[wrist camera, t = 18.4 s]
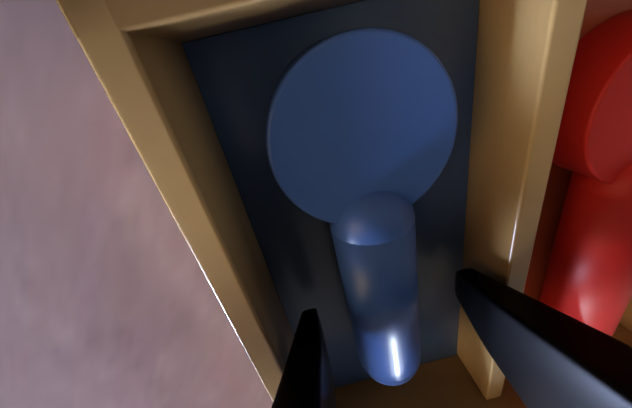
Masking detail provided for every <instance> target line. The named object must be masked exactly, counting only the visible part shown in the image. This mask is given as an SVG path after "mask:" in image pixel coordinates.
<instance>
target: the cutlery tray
mask: <svg viewBox="0 0 632 408" xmlns="http://www.w3.org/2000/svg"><path fill="white" fill-rule="evenodd" d="M56 2H57V4H58V6H59V7H60V9H61V11H62V13H63V15H64V17H65V19H66V20H67V22H68V24H69V26H70V28H71V30H72V32H73V33H74V35H75V37H76V38H77V40H78V42H79V44H80V46H81V48H82V49H83V51H84V53H85V55H86V57H87V59H88V60H89V62H90V64H91V66H92V68H93V70H94V72H95V73H96V75H97V77H98V79H99V81H100V83H101V85H102V86H103V88H104V90H105V92H106V94H107V96H108V98H109V99H110V101H111V103H112V105H113V107H114V109H115V110H116V112H117V114H118V116H119V118H120V120H121V122H122V123H123V125H124V127H125V129H126V131H127V133H128V135H129V136H130V138H131V140H132V142H133V144H134V146H135V147H136V149H137V151H138V153H139V155H140V157H141V159H142V160H143V162H144V164H145V166H146V168H147V170H148V172H149V173H150V175H151V177H152V179H153V181H154V183H155V184H156V186H157V188H158V190H159V192H160V194H161V196H162V197H163V199H164V201H165V203H166V205H167V207H168V209H169V210H170V212H171V214H172V216H173V218H174V220H175V221H176V223H177V225H178V227H179V229H180V231H181V233H182V234H183V236H184V238H185V240H186V242H187V244H188V246H189V247H190V249H191V251H192V253H193V255H194V257H195V258H196V260H197V262H198V264H199V266H200V268H201V270H202V271H203V273H204V275H205V277H206V279H207V281H208V283H209V284H210V286H211V288H212V290H213V292H214V294H215V295H216V297H217V299H218V301H219V303H220V305H221V307H222V308H223V310H224V312H225V314H226V316H227V318H228V320H229V321H230V323H231V325H232V327H233V329H234V331H235V332H236V334H237V336H238V338H239V340H240V342H241V344H242V345H243V347H244V349H245V351H246V353H247V355H248V357H249V358H250V360H251V362H252V364H253V366H254V368H255V369H256V371H257V373H258V375H259V377H260V379H261V381H262V382H263V384H264V386H265V388H266V390H267V392H268V394H269V395H270V397H271V399H272V401H273V402H274V399H275V395H276V392H277V389H278V386H279V383H280V380H281V377H282V373H283V370H284V367H285V364H286V361H287V358H288V355H289V351H290V348H291V345H292V342H293V339H294V336H295V333H296V330H297V326H298V323H299V320H300V317H301V314H302V312H303V311H304V310H308V309H312V308H316V309H317V312H318V315H319V319H320V322H321V325H322V329H323V334H324V338H325V343H326V348H327V353H328V358H329V363H330V367H331V372H332V377H333V383H334V389H335V397H336V407H337V408H527V407H526V406H525V404H524V403H523V401H522V400H521V398H520V397H519V396H518V394H517V393H516V391H515V390H514V388H513V387H512V386H511V384H510V383H509V381H508V380H507V378H506V377H505V376H504V374H503V373H502V371H501V370H500V368H499V367H498V366H497V364H496V363H495V361H494V360H493V358H492V357H491V356H490V354H489V353H488V351H487V350H486V348H485V346H484V345H483V343H482V341H481V340H480V338H479V336H478V334H477V333H476V331H475V329H474V327H473V326H472V324H471V322H470V320H469V318H468V317H467V315H466V313H465V311H464V310H463V308H462V306H461V304H460V303H459V301H458V299H457V297H456V294H455V275H456V272H457V271H458V270H462V269H466V268H472V269H474V270H476V271H478V272H480V273H483V274H485V275H487V276H489V277H491V278H493V279H495V280H497V281H499V282H501V283H503V284H505V285H507V286H509V287H511V288H513V289H515V290H517V291H519V292H521V293H523V294H526V295H528V296H530V297H532V298H534V299H536V300H538V301H539V298H540V294H541V290H542V287H543V283H544V279H545V275H546V271H547V267H548V263H549V260H550V256H551V252H552V248H553V244H554V240H555V236H556V233H557V229H558V225H559V221H560V217H561V213H562V209H563V206H564V202H565V198H566V194H567V190H568V186H569V182H570V179H571V176H572V173H573V171H570V170H567V169H565V168H562V167H559V166H557V165H555V164H553V163H552V160H553V156H554V151H555V147H556V142H557V137H558V133H559V128H560V124H561V119H562V115H563V110H564V105H565V101H566V96H567V92H568V87H569V83H570V78H571V73H572V69H573V64H574V60H575V55H576V50H577V46H578V41H579V40H580V39H581V38H582V37H583V36H585V35H586V34H587V33H588V32H589V31H591V30H592V29H593V28H595V27H596V26H598V25H599V24H601V23H602V22H604V21H606V20H607V19H609V18H611V17H613V16H616V15H618V14H620V13H622V12H625V11H628V10H632V0H56ZM364 27H381V28H387V29H393V30H396V31H399V32H402V33H405V34H408V35H410V36H412V37H413V38H415V39H417V40H419V41H420V42H422V43H423V44H424V45H425V46H427V47H428V48H429V49H430V50H431V51H432V52H433V53H434V54H435V55H436V56H437V57H438V58H439V60H440V61H441V63H442V64H443V66H444V67H445V69H446V70H447V73H448V75H449V77H450V79H451V81H452V84H453V87H454V91H455V94H456V100H457V106H458V124H457V133H456V137H455V142H454V146H453V149H452V151H451V154H450V157H449V159H448V161H447V163H446V165H445V167H444V169H443V171H442V172H441V174H440V176H439V177H438V179H437V180H436V181H435V182H434V184H433V185H432V186H431V188H430V189H429V190H428V191H427V192H426V193H425V194H424V195H423V196H422V197H421V198H420V199H418V200H417V201H416V202H415V203H414V204H412V206H413V209H414V214H415V229H416V253H417V277H418V301H419V325H420V349H421V358H420V364H419V368H418V370H417V372H416V374H415V375H414V376H413V377H412V378H411V380H409V381H408V382H406V383H404V384H402V385H397V386H388V385H384V384H381V383H379V382H377V381H375V380H374V379H373V378H371V376H370V375H369V374H368V373H367V372H366V371H365V369H364V368H363V366H362V364H361V362H360V359H359V356H358V351H357V347H356V342H355V338H354V333H353V329H352V324H351V320H350V315H349V311H348V306H347V302H346V297H345V293H344V288H343V284H342V279H341V275H340V270H339V266H338V261H337V257H336V252H335V248H334V243H333V239H332V234H331V230H330V223H329V222H325V221H322V220H320V219H317V218H315V217H313V216H311V215H309V214H308V213H306V212H304V211H303V210H301V209H300V208H299V207H297V206H296V205H295V204H294V203H293V202H292V201H291V200H290V199H289V198H288V197H287V196H286V195H285V193H284V192H283V191H282V189H281V188H280V187H279V185H278V183H277V181H276V179H275V178H274V175H273V173H272V170H271V167H270V164H269V160H268V156H267V149H266V122H267V113H268V107H269V102H270V99H271V95H272V92H273V90H274V88H275V85H276V83H277V81H278V79H279V78H280V76H281V75H282V73H283V71H284V70H285V69H286V67H287V66H288V65H289V64H290V63H291V61H292V60H293V59H294V58H296V57H297V56H298V55H299V54H300V53H301V52H302V51H304V50H305V49H307V48H308V47H310V46H311V45H313V44H315V43H317V42H319V41H321V40H323V39H325V38H328V37H330V36H333V35H335V34H338V33H341V32H344V31H347V30H351V29H357V28H364ZM612 337H613V338H616V339H618V340H620V341H622V342H624V343H626V344H628V345H630V346H631V348H632V297H631V299H630V301H629V303H628V305H627V308H626V310H625V312H624V314H623V316H622V318H621V320H620V322H619V324H618V326H617V328H616V330H615V332H614V334H613V335H612Z"/></svg>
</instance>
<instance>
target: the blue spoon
mask: <svg viewBox="0 0 632 408" xmlns="http://www.w3.org/2000/svg"><path fill="white" fill-rule="evenodd" d="M457 124H458V106H457V100H456V94H455V91H454V87H453V84H452V81H451V79H450V77H449V75H448V73H447V70H446V69H445V67H444V66H443V64H442V63H441V61H440V60H439V58H438V57H437V56H436V55H435V54H434V53H433V52H432V51H431V50H430V49H429V48H428V47H427V46H425V45H424V44H423V43H422V42H420V41H419V40H417V39H415V38H413V37H412V36H410V35H408V34H405V33H402V32H399V31H396V30H393V29H387V28H381V27H364V28H357V29H351V30H347V31H344V32H341V33H338V34H335V35H333V36H330V37H328V38H325V39H323V40H321V41H319V42H317V43H315V44H313V45H311V46H310V47H308V48H307V49H305V50H304V51H302V52H301V53H300V54H299V55H298V56H297V57H296V58H294V59H293V60H292V61H291V63H290V64H289V65H288V66H287V67H286V69H285V70H284V71H283V73H282V75H281V76H280V78H279V79H278V81H277V83H276V85H275V88H274V90H273V92H272V95H271V99H270V102H269V107H268V113H267V122H266V149H267V156H268V160H269V164H270V167H271V170H272V173H273V175H274V178H275V179H276V181H277V183H278V185H279V187H280V188H281V189H282V191H283V192H284V193H285V195H286V196H287V197H288V198H289V199H290V200H291V201H292V202H293V203H294V204H295V205H296V206H297V207H299V208H300V209H301V210H303V211H304V212H306V213H308V214H309V215H311V216H313V217H315V218H317V219H320V220H322V221H325V222H329V223H330V230H331V234H332V239H333V243H334V248H335V252H336V257H337V261H338V266H339V270H340V275H341V279H342V284H343V288H344V293H345V297H346V302H347V306H348V311H349V315H350V320H351V324H352V329H353V333H354V338H355V342H356V347H357V351H358V356H359V359H360V362H361V364H362V366H363V368H364V369H365V371H366V372H367V373H368V374H369V375H370V376H371V378H373V379H374V380H375V381H377V382H379V383H381V384H384V385H388V386H397V385H402V384H404V383H406V382H408V381H409V380H411V378H412V377H413V376H414V375H415V374H416V372H417V370H418V368H419V364H420V358H421V349H420V325H419V301H418V277H417V253H416V229H415V214H414V209H413V206H412V204H414V203H415V202H416V201H417V200H418V199H420V198H421V197H422V196H423V195H424V194H425V193H426V192H427V191H428V190H429V189H430V188H431V186H432V185H433V184H434V182H435V181H436V180H437V179H438V177H439V176H440V174H441V172H442V171H443V169H444V167H445V165H446V163H447V161H448V159H449V157H450V154H451V151H452V149H453V146H454V142H455V137H456V133H457Z"/></svg>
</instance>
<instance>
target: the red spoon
mask: <svg viewBox="0 0 632 408" xmlns="http://www.w3.org/2000/svg"><path fill="white" fill-rule="evenodd" d="M552 163H553V164H555V165H557V166H559V167H562V168H565V169H567V170H570V171H573V173H572V176H571V179H570V182H569V186H568V190H567V194H566V198H565V202H564V206H563V209H562V213H561V217H560V221H559V225H558V229H557V233H556V236H555V240H554V244H553V248H552V252H551V256H550V260H549V263H548V267H547V271H546V275H545V279H544V283H543V287H542V290H541V294H540V298H539V301H540V302H542V303H544V304H546V305H548V306H550V307H552V308H554V309H556V310H558V311H560V312H562V313H564V314H566V315H568V316H571V317H573V318H575V319H577V320H579V321H581V322H583V323H585V324H587V325H589V326H591V327H593V328H595V329H597V330H599V331H601V332H603V333H605V334H607V335H609V336H611V337H612V335H613V334H614V332H615V330H616V328H617V326H618V324H619V322H620V320H621V318H622V316H623V314H624V312H625V310H626V308H627V305H628V303H629V301H630V299H631V297H632V10H628V11H625V12H622V13H620V14H618V15H616V16H613V17H611V18H609V19H607V20H606V21H604V22H602V23H601V24H599V25H598V26H596V27H595V28H593V29H592V30H591V31H589V32H588V33H587V34H586V35H585V36H583V37H582V38H581V39H580V40H579V41H578V46H577V50H576V55H575V60H574V64H573V69H572V73H571V78H570V83H569V87H568V92H567V96H566V101H565V105H564V110H563V115H562V119H561V124H560V128H559V133H558V137H557V142H556V147H555V151H554V156H553V160H552Z"/></svg>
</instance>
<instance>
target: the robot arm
mask: <svg viewBox="0 0 632 408" xmlns="http://www.w3.org/2000/svg"><path fill="white" fill-rule="evenodd" d="M455 294H456V297H457V299H458V301H459V303H460V304H461V306H462V308H463V310H464V311H465V313H466V315H467V317H468V318H469V320H470V322H471V324H472V326H473V327H474V329H475V331H476V333H477V334H478V336H479V338H480V340H481V341H482V343H483V345H484V346H485V348H486V350H487V351H488V353H489V354H490V356H491V357H492V358H493V360H494V361H495V363H496V364H497V366H498V367H499V368H500V370H501V371H502V373H503V374H504V376H505V377H506V378H507V380H508V381H509V383H510V384H511V386H512V387H513V388H514V390H515V391H516V393H517V394H518V396H519V397H520V398H521V400H522V401H523V403H524V404H525V406H526V407H527V408H632V348H631V346H630V345H628V344H626V343H624V342H622V341H620V340H618V339H616V338H613V337H611V336H609V335H607V334H605V333H603V332H601V331H599V330H597V329H595V328H593V327H591V326H589V325H587V324H585V323H583V322H581V321H579V320H577V319H575V318H573V317H571V316H568V315H566V314H564V313H562V312H560V311H558V310H556V309H554V308H552V307H550V306H548V305H546V304H544V303H542V302H540V301H538V300H536V299H534V298H532V297H530V296H528V295H526V294H523V293H521V292H519V291H517V290H515V289H513V288H511V287H509V286H507V285H505V284H503V283H501V282H499V281H497V280H495V279H493V278H491V277H489V276H487V275H485V274H483V273H480V272H478V271H476V270H474V269H472V268H466V269H462V270H458V271H457V272H456V275H455ZM272 408H337V407H336V397H335V389H334V383H333V377H332V372H331V367H330V363H329V358H328V353H327V348H326V343H325V338H324V334H323V329H322V325H321V322H320V319H319V315H318V312H317V309H316V308H312V309H308V310H304V311H303V312H302V314H301V317H300V320H299V323H298V326H297V330H296V333H295V336H294V339H293V342H292V345H291V348H290V351H289V355H288V358H287V361H286V364H285V367H284V370H283V373H282V377H281V380H280V383H279V386H278V389H277V392H276V395H275V399H274V402H273V405H272Z"/></svg>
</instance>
